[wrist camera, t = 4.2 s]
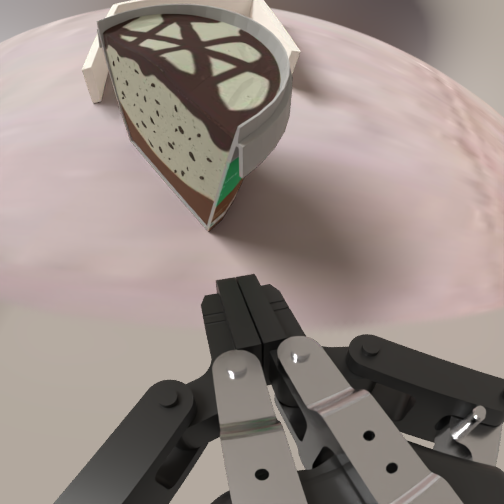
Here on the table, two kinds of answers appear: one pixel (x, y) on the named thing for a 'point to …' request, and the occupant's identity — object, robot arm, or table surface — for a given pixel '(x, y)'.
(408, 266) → the table surface
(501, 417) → the robot arm
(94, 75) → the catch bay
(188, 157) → the food container
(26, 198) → the table surface
